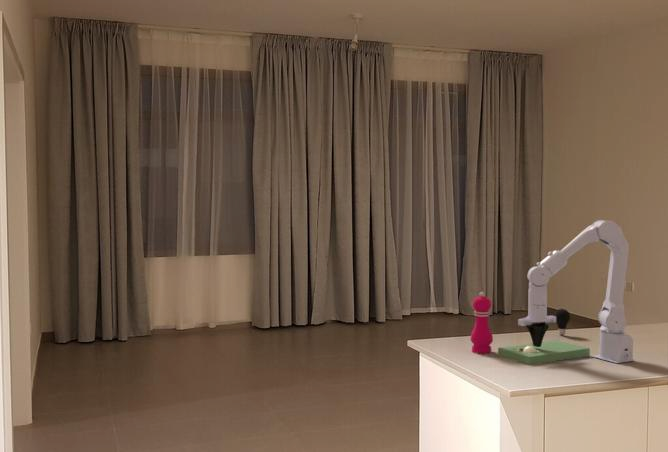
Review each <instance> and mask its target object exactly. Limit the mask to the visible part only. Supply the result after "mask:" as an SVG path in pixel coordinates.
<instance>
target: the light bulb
mask: <svg viewBox="0 0 668 452" xmlns="http://www.w3.org/2000/svg"><path fill="white" fill-rule="evenodd" d="M553 316H556V322H555V323H556V326H557V329H558V330H557V331H558V334H559V335H560V336H561V337H562V336H564V335H566V328H567V325H568V323H569V322H570V320H571V314H570V312H569V311H568V309H565V308H559V309H557V310H556V311H555V312H554V314H553Z"/></svg>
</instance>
